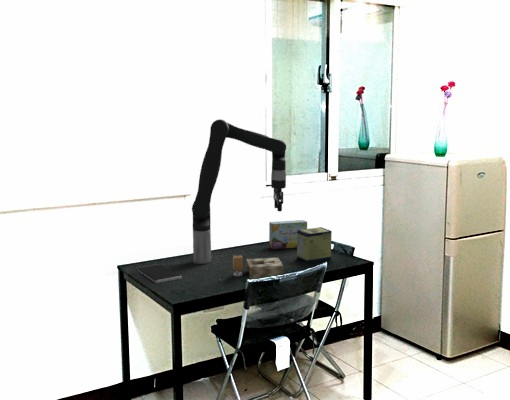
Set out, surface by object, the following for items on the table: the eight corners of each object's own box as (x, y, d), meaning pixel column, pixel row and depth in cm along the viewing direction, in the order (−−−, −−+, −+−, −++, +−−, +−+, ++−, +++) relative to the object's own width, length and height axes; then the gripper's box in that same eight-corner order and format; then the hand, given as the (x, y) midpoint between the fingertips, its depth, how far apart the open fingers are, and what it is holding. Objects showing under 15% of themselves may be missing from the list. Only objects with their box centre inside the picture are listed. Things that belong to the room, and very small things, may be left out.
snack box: (271, 249, 330) (271, 223, 328) (269, 247, 336) (268, 221, 333) (307, 246, 336) (307, 221, 333) (303, 244, 341) (304, 219, 339)
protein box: (331, 259, 310) (332, 230, 308) (306, 263, 304) (306, 233, 301) (320, 254, 320) (321, 226, 317) (296, 258, 313) (296, 229, 310)
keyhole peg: (233, 277, 281) (233, 258, 280) (233, 274, 286) (232, 255, 284) (243, 276, 282) (242, 257, 280) (242, 274, 286) (241, 255, 284)
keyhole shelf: (250, 279, 277) (249, 267, 276) (246, 270, 291) (246, 259, 290) (283, 277, 280) (283, 265, 278) (278, 269, 293) (278, 257, 292)
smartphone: (160, 266, 303) (160, 263, 302) (182, 279, 280) (182, 276, 280) (136, 270, 296) (135, 267, 295) (156, 284, 273) (156, 280, 273)
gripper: (269, 176, 308) (268, 207, 311) (273, 180, 294) (273, 212, 297) (283, 176, 309) (282, 206, 312) (288, 180, 295) (287, 212, 298)
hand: (278, 209), depth 304 cm, fingers open, 8 cm apart
